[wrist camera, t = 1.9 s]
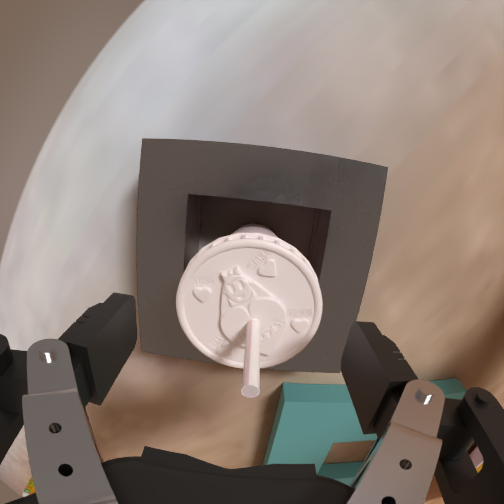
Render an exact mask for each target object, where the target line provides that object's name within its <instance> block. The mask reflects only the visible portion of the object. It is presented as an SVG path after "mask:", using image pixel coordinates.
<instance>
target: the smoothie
mask: <svg viewBox="0 0 504 504" xmlns="http://www.w3.org/2000/svg"><path fill="white" fill-rule="evenodd" d="M322 306H323V303H322V294H321V290H320V287H319V283H318V278H317V276H316V274H315V272H314V270H313V268H312V266H311V264H310V263H309V261H308V260H307V259H306V258H305V257H304V256H303V255H302V254H301V253H300V252H299V251H298V250H297V249H296V248H295V247H293V246H292V245H290V244H288V243H286V242H285V241H283V240H281V239H279V238H278V237H277V236H276V235H275V234H274V232H273V231H272V230H270V229H269V228H268V227H266V226H264V225H260V224H247V225H244V226H242V227H240V228H238V229H237V230H236V231H235V232H233V233H232V234H231V235H228V236H224V237H220V238H218V239H216V240H215V241H213V242H211V243H210V244H208V245H206V246H204V247H203V248H202V249H201V250H200V251H199V252H198V253H197V254H196V255H195V256H194V257H193V258H192V259H191V260H190V262H189V264H188V265H187V267H186V269H185V271H184V273H183V275H182V278H181V280H180V283H179V286H178V290H177V296H176V310H177V315H178V319H179V322H180V325H181V327H182V329H183V331H184V333H185V335H186V336H187V338H188V339H189V340H190V342H191V343H192V344H193V345H194V346H195V347H196V348H197V349H198V350H199V351H200V352H202V353H203V354H204V355H206V356H207V357H209V358H211V359H212V360H214V361H216V362H218V363H221V364H223V365H227V366H230V367H235V368H241V369H243V377H242V388H241V392H242V394H243V395H244V396H246V397H250V398H251V397H255V396H257V395H258V394H259V384H260V369H261V368H267V367H271V366H275V365H277V364H280V363H283V362H285V361H287V360H289V359H290V358H292V357H294V356H295V355H296V354H298V353H299V352H300V351H301V350H303V349H304V348H305V346H306V345H307V344H308V343H309V342H310V341H311V339H312V338H313V336H314V335H315V333H316V331H317V329H318V326H319V324H320V320H321V316H322Z"/></svg>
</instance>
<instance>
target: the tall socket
mask: <svg viewBox="0 0 504 504" xmlns="http://www.w3.org/2000/svg"><path fill="white" fill-rule="evenodd" d="M387 170H388V167H384V166H380V165H375V164H371V163H366V162H361V161H356V160H351V159H345V158H340V157H334V156H329V155H323V154H317V153H310V152H304V151H297V150H290V149H282V148H275V147H266V146H258V145H248V144H238V143H227V142H214V141H199V140H179V139H142V148H141V159H140V173H139V189H138V212H137V284H138V307H139V323H140V337H141V348H142V351H145V352H150V353H155V354H160V355H166V356H171V357H177V358H183V359H189V360H196V361H202V362H209V363H217V364H221V363H218V362H216V361H214V360H212V359H211V358H209V357H207V356H206V355H204V354H203V353H202V352H200V351H199V350H198V349H197V348H196V347H195V346H194V345H193V344H192V343H191V342H190V340H189V339H188V338H187V336H186V335H185V333H184V331H183V329H182V327H181V325H180V322H179V319H178V315H177V310H176V296H177V290H178V286H179V283H180V280H181V278H182V275H183V273H184V271H185V269H186V267H187V265H188V264H189V262H190V260H191V259H192V258H193V257H194V256H195V255H196V254H197V253H198V246H199V231H200V217H201V204H202V195H207V196H217V197H227V198H237V199H246V200H255V201H264V202H272V203H280V204H288V205H296V206H303V207H311V208H316V212H315V219H314V225H313V232H312V238H311V244H310V250H309V256H308V261H309V263H310V264H311V266H312V268H313V270H314V272H315V274H316V276H317V278H318V283H319V287H320V290H321V294H322V303H323V306H322V316H321V320H320V324H319V326H318V329H317V331H316V333H315V335H314V336H313V338H312V339H311V341H310V342H309V343H308V344H307V345H306V346H305V348H304V349H303V350H301V351H300V352H299V353H298V354H296V355H295V356H294V357H292V358H290V359H289V360H287V361H285V362H283V363H280V364H277V365H275V366H271V367H267V368H261V369H273V370H286V371H302V372H324V373H340V371H341V358H342V354H343V351H344V348H345V345H346V341H347V338H348V335H349V331H350V328H351V325H352V324H353V322H355V321H356V320H357V316H358V312H359V309H360V305H361V301H362V297H363V294H364V290H365V286H366V282H367V277H368V273H369V269H370V264H371V260H372V255H373V251H374V246H375V241H376V236H377V231H378V226H379V220H380V215H381V209H382V203H383V197H384V191H385V184H386V177H387Z"/></svg>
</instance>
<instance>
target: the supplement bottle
mask: <svg viewBox="0 0 504 504" xmlns="http://www.w3.org/2000/svg"><path fill="white" fill-rule="evenodd" d="M35 492H36V491H35V487H34V483H33V478H31V479H30V481H29V483H28V485H27V486H26V488H25V490H24V492H23V497H25V496H28V495H30V494H33V493H35Z"/></svg>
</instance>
